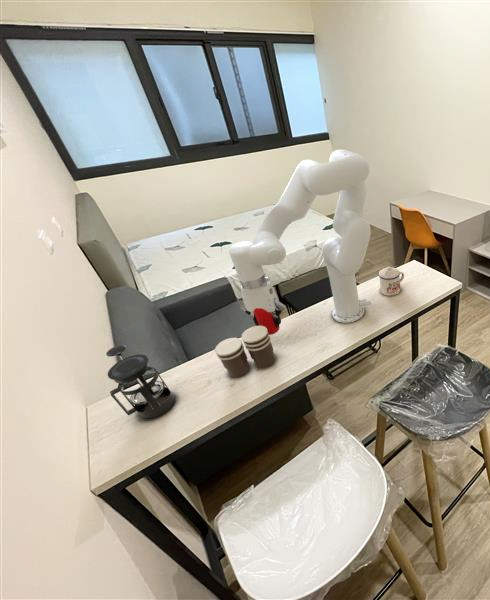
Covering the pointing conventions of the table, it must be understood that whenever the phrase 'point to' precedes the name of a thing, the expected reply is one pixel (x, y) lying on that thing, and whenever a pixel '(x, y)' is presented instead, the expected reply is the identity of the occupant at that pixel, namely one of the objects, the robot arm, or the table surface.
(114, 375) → the french press
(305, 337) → the table surface
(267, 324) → the beverage can
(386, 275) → the teacup with lid
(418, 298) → the table surface
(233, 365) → the cup stacks
